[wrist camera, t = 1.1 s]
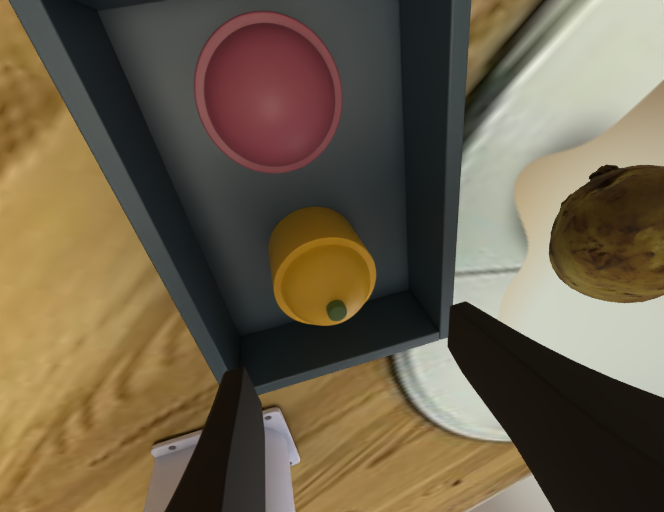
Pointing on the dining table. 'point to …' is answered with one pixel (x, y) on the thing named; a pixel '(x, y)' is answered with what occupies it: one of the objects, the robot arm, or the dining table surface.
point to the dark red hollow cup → (268, 92)
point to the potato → (613, 235)
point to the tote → (275, 188)
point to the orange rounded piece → (319, 267)
